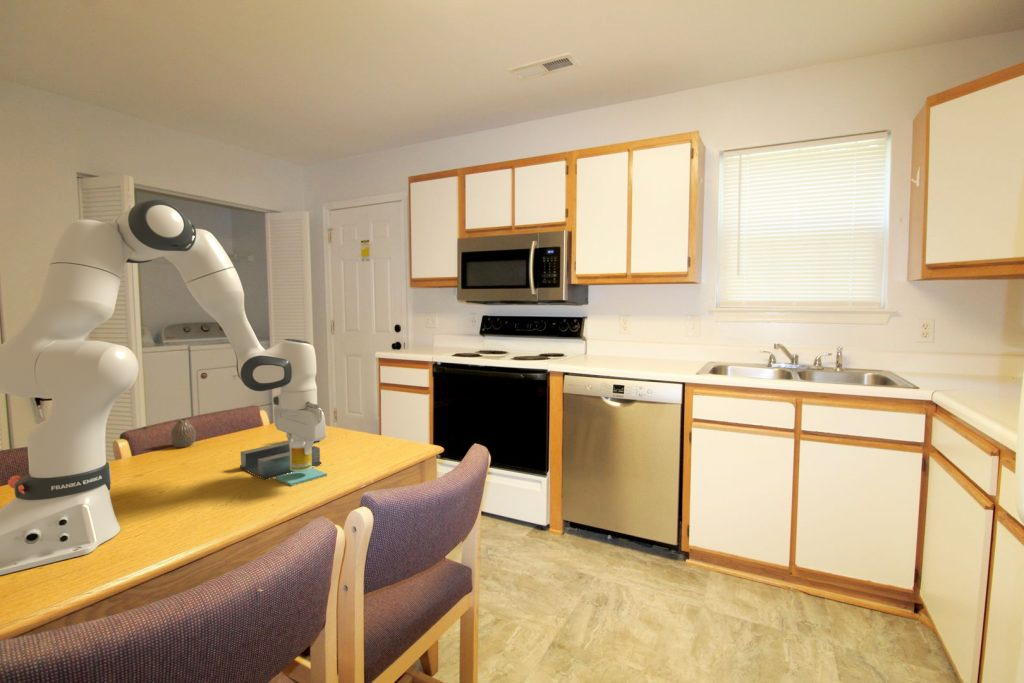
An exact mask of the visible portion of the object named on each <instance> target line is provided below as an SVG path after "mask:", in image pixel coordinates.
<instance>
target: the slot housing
mask: <svg viewBox="0 0 1024 683" xmlns="http://www.w3.org/2000/svg"><path fill="white" fill-rule="evenodd" d="M320 451H321V449H320V447H319V446H315V445H313V446H312V466H315V467H317V466H316V465H319V466H321V465H322V461H321V453H320ZM320 464H321V465H320ZM241 468H242V469H241ZM239 469H241V470H243V469H244V471H245V470H247V471H249V472H248V473H250V472H251V473H250V474H252V473H253V474H252V475H254V474H255V475H254V476H256V475H257V476H256V477H258V476H259V478H260V477H261V479H262V478H263V480H264V479H265V480H266V479H267V480H270V479H274V478H276V477H277V476H281V475H284V474H287V473H291V472H294V471H291V470H290V448H289V441H288V440H287V441H284V442H280V443H275V444H269V445H266V446H261V447H257V448H251V449H247V450H243V451H240V465H239ZM247 471H246V472H247ZM273 477H274V478H273ZM269 478H270V479H269ZM265 480H264V481H265ZM267 480H266V481H267Z"/></svg>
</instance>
